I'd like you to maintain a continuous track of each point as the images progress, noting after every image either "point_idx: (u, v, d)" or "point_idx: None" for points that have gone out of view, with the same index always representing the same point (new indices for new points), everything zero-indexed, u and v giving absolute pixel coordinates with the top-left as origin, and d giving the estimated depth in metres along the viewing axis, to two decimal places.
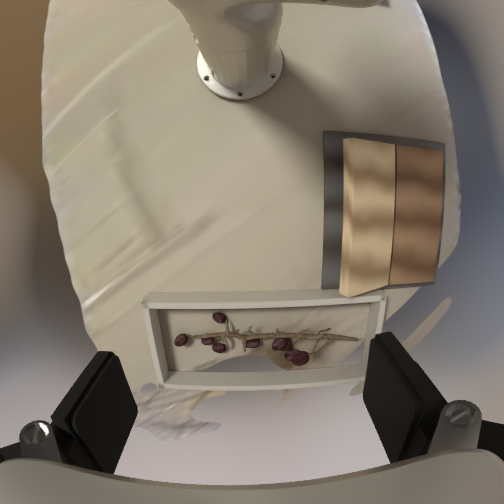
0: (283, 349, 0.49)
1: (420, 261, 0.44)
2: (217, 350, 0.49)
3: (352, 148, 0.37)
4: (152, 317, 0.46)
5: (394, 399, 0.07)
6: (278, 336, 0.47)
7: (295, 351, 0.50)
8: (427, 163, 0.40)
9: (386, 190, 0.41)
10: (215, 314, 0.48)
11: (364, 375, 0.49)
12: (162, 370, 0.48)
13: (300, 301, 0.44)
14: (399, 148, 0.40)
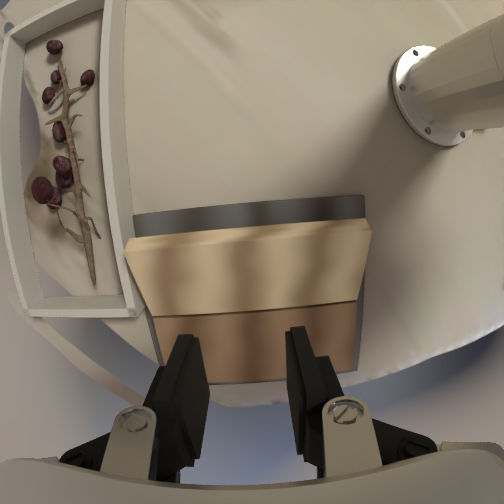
0: (57, 177, 0.28)
1: None
2: (44, 93, 0.25)
3: (357, 231, 0.25)
4: None
5: (293, 389, 0.09)
6: (72, 158, 0.26)
7: (58, 198, 0.29)
8: (334, 350, 0.32)
9: (294, 292, 0.30)
10: (91, 71, 0.26)
11: (28, 304, 0.30)
12: (25, 30, 0.21)
13: (111, 180, 0.26)
14: (352, 307, 0.31)
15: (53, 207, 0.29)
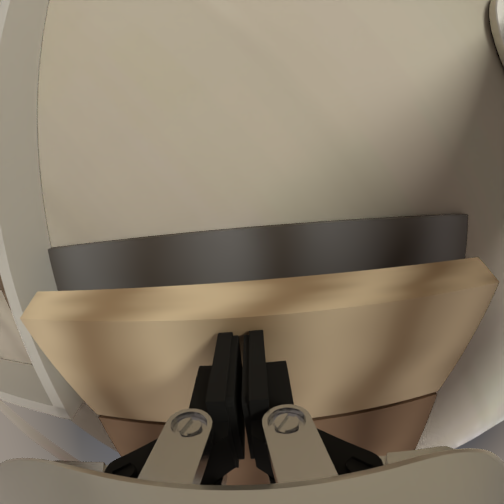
0: None
1: None
2: None
3: (476, 283, 0.10)
4: None
5: None
6: None
7: None
8: None
9: (342, 397, 0.14)
10: None
11: None
12: None
13: None
14: (428, 401, 0.15)
15: None
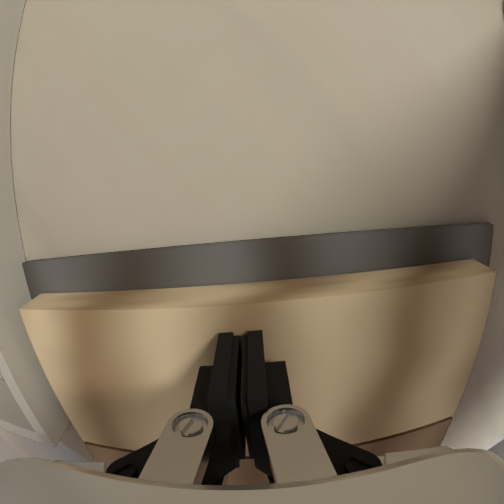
0: None
1: None
2: None
3: (473, 274, 0.11)
4: None
5: None
6: None
7: None
8: None
9: (350, 419, 0.12)
10: None
11: None
12: None
13: None
14: (443, 426, 0.13)
15: None
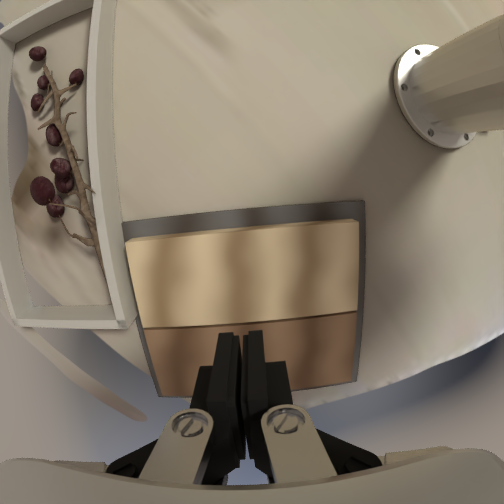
0: (56, 182, 0.26)
1: (187, 372, 0.31)
2: (33, 99, 0.24)
3: (344, 223, 0.27)
4: None
5: None
6: (70, 157, 0.24)
7: None
8: (333, 362, 0.31)
9: (289, 298, 0.29)
10: (79, 69, 0.24)
11: (17, 314, 0.28)
12: (14, 29, 0.19)
13: (98, 185, 0.24)
14: (352, 317, 0.30)
15: (56, 215, 0.28)
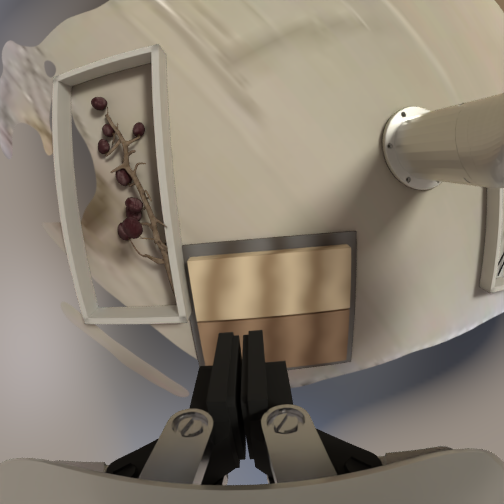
0: (129, 215, 0.39)
1: None
2: (100, 145, 0.37)
3: (341, 248, 0.40)
4: (139, 57, 0.32)
5: None
6: (143, 198, 0.37)
7: None
8: (332, 345, 0.44)
9: (302, 299, 0.42)
10: (141, 123, 0.37)
11: (88, 314, 0.41)
12: (73, 77, 0.32)
13: (169, 221, 0.37)
14: (346, 313, 0.42)
15: (127, 239, 0.40)
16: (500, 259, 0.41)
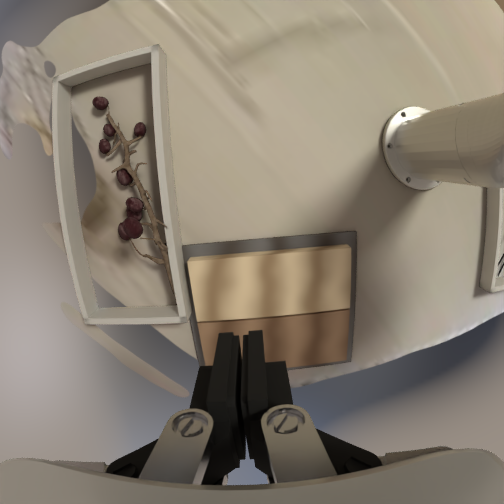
0: (129, 214, 0.39)
1: None
2: (101, 144, 0.37)
3: (341, 248, 0.40)
4: (139, 57, 0.32)
5: None
6: (144, 198, 0.37)
7: None
8: (333, 345, 0.44)
9: (302, 299, 0.42)
10: (142, 123, 0.37)
11: (88, 314, 0.41)
12: (73, 77, 0.32)
13: (169, 222, 0.37)
14: (346, 313, 0.42)
15: (127, 239, 0.41)
16: (500, 259, 0.41)
